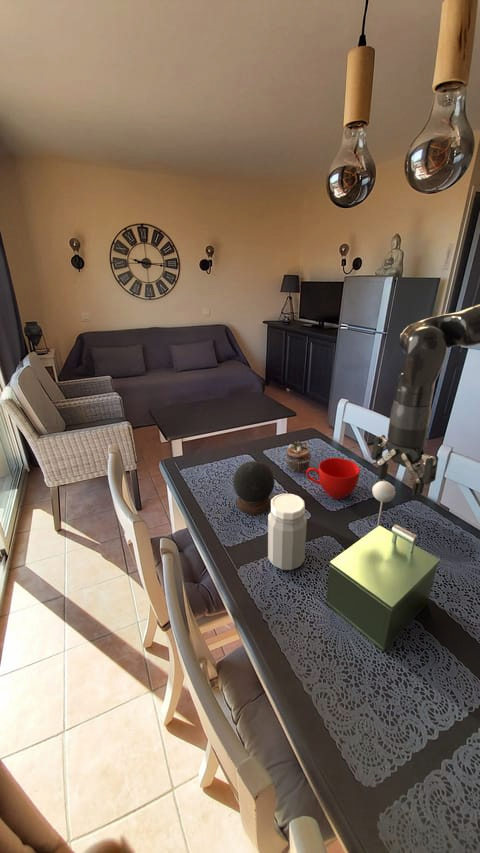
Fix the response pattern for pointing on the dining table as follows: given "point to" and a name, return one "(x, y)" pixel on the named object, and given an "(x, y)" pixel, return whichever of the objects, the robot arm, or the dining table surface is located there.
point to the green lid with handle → (386, 564)
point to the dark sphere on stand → (253, 487)
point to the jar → (287, 532)
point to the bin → (375, 608)
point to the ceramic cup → (336, 476)
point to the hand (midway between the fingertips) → (398, 486)
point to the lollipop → (383, 493)
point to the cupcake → (298, 457)
